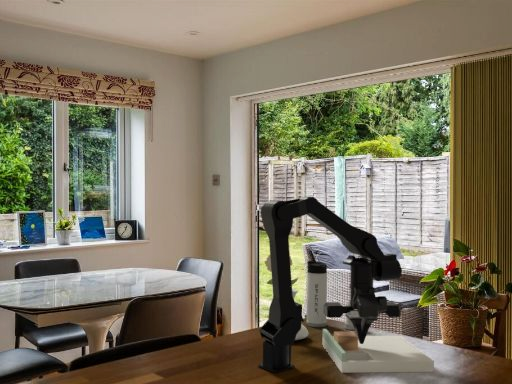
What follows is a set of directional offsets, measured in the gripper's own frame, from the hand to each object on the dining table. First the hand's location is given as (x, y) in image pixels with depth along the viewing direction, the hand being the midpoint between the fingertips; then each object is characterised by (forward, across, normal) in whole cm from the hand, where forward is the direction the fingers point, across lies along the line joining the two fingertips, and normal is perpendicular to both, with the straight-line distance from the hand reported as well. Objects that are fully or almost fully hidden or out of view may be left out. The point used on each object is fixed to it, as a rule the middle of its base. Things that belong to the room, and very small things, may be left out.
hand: (361, 343), depth 140 cm
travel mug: (+4, -5, +35) cm, 35 cm away
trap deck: (+4, +3, 0) cm, 5 cm away
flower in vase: (+4, -17, +19) cm, 26 cm away
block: (+1, -4, 0) cm, 4 cm away
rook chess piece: (+4, +5, +30) cm, 31 cm away
